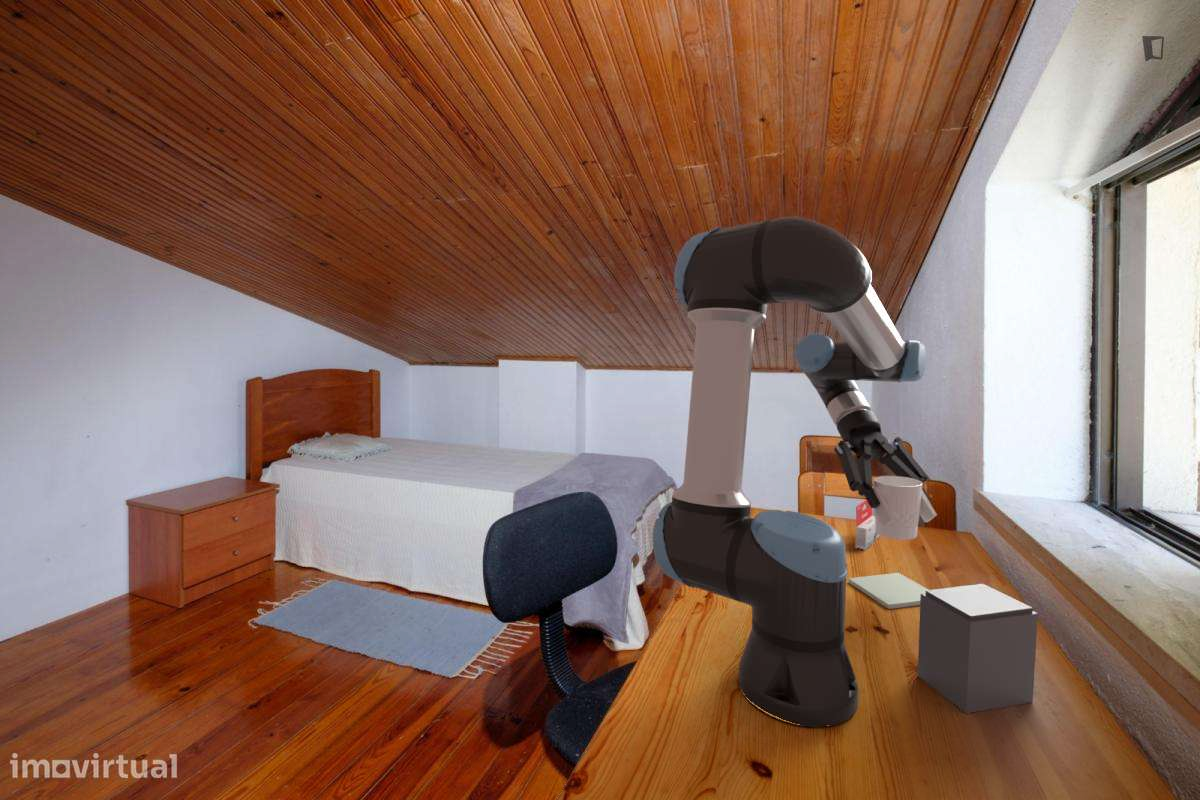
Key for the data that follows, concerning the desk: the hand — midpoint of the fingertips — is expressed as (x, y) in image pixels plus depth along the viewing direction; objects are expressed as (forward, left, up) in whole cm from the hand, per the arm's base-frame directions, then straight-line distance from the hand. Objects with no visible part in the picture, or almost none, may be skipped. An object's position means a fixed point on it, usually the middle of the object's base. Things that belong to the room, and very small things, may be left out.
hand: (910, 520), depth 96 cm
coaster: (0, +3, -15) cm, 15 cm away
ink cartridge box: (+12, +26, -15) cm, 33 cm away
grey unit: (-10, -24, -15) cm, 30 cm away
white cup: (0, +3, -4) cm, 5 cm away
